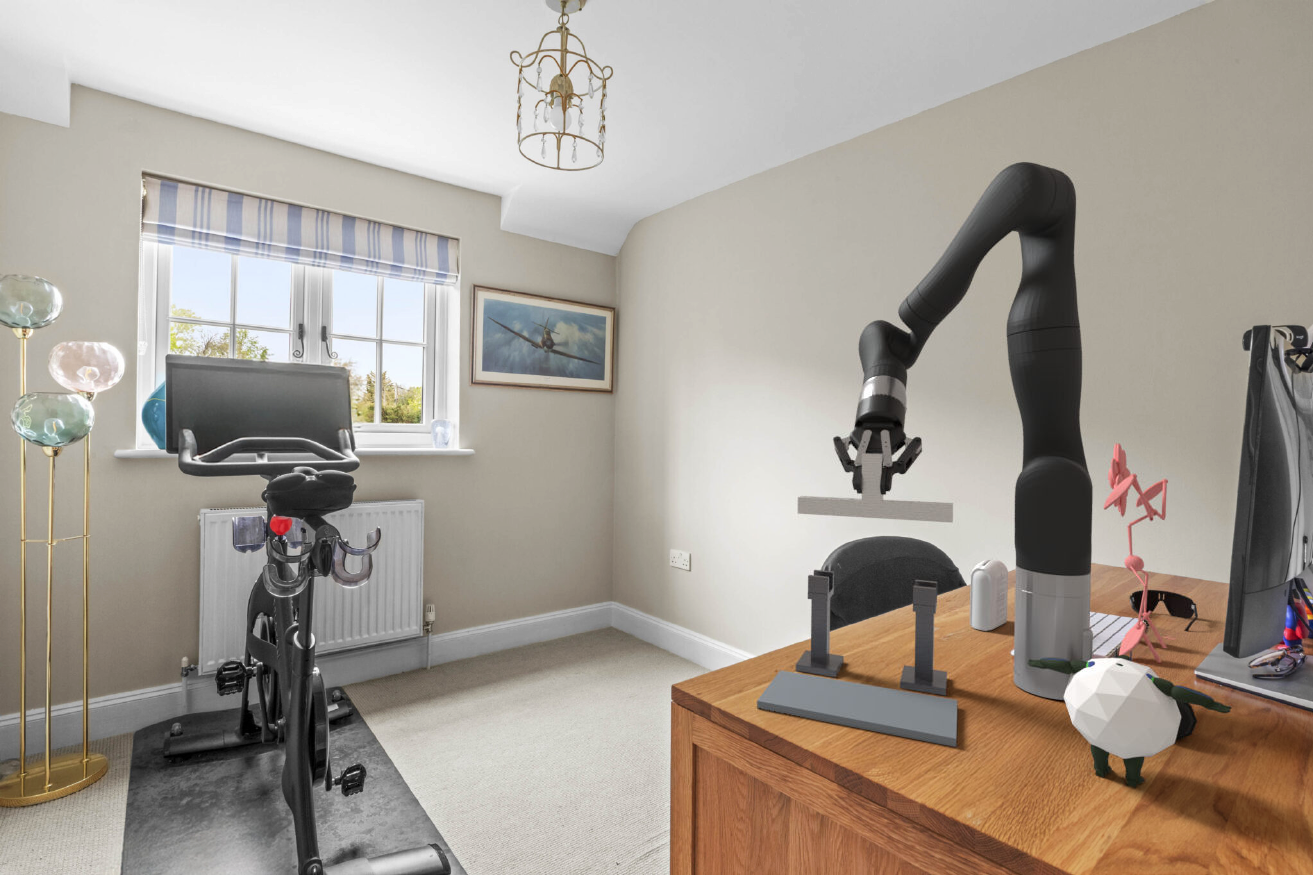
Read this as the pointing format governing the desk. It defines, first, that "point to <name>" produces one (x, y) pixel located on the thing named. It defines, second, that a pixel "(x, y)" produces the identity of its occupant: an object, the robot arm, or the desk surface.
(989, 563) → the photo printer
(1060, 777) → the desk surface
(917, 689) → the hook stand
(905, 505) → the rail
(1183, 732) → the microphone
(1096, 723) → the figurine
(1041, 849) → the desk surface
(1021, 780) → the desk surface
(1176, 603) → the sunglasses
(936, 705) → the mat
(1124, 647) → the figurine
